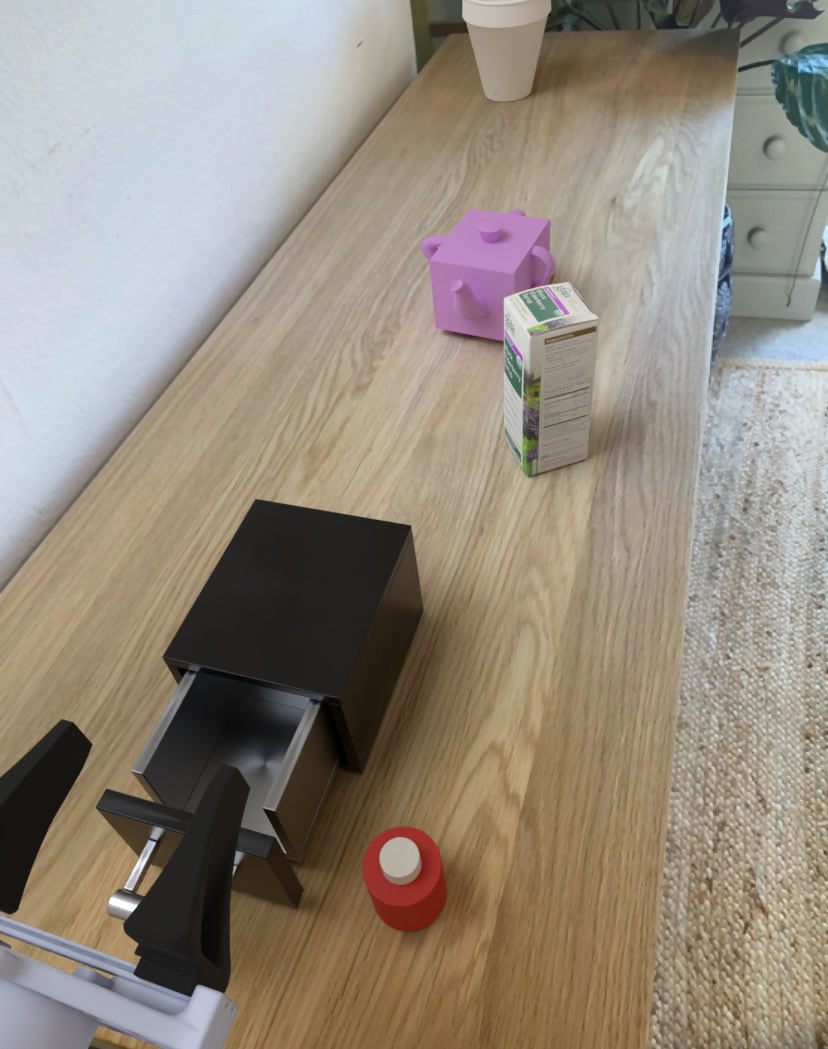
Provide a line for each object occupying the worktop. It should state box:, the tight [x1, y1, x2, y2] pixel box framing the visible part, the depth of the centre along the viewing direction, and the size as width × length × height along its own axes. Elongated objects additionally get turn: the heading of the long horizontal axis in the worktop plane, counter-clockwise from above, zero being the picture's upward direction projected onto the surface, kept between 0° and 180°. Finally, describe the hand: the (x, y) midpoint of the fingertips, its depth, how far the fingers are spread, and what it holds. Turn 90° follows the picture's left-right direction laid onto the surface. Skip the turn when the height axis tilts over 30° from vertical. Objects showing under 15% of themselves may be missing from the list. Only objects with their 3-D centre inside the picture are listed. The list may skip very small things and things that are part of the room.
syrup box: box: [503, 281, 600, 477], centre depth 69 cm, size 6×6×14 cm
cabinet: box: [161, 498, 425, 776], centre depth 58 cm, size 14×12×10 cm
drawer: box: [95, 669, 345, 922], centre depth 50 cm, size 17×10×8 cm, turn 162°
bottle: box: [361, 825, 448, 933], centre depth 48 cm, size 4×4×6 cm
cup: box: [461, 0, 552, 103], centre depth 121 cm, size 12×12×14 cm
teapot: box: [420, 208, 556, 342], centre depth 85 cm, size 18×14×10 cm
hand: (154, 753), depth 35 cm, fingers open, 7 cm apart
